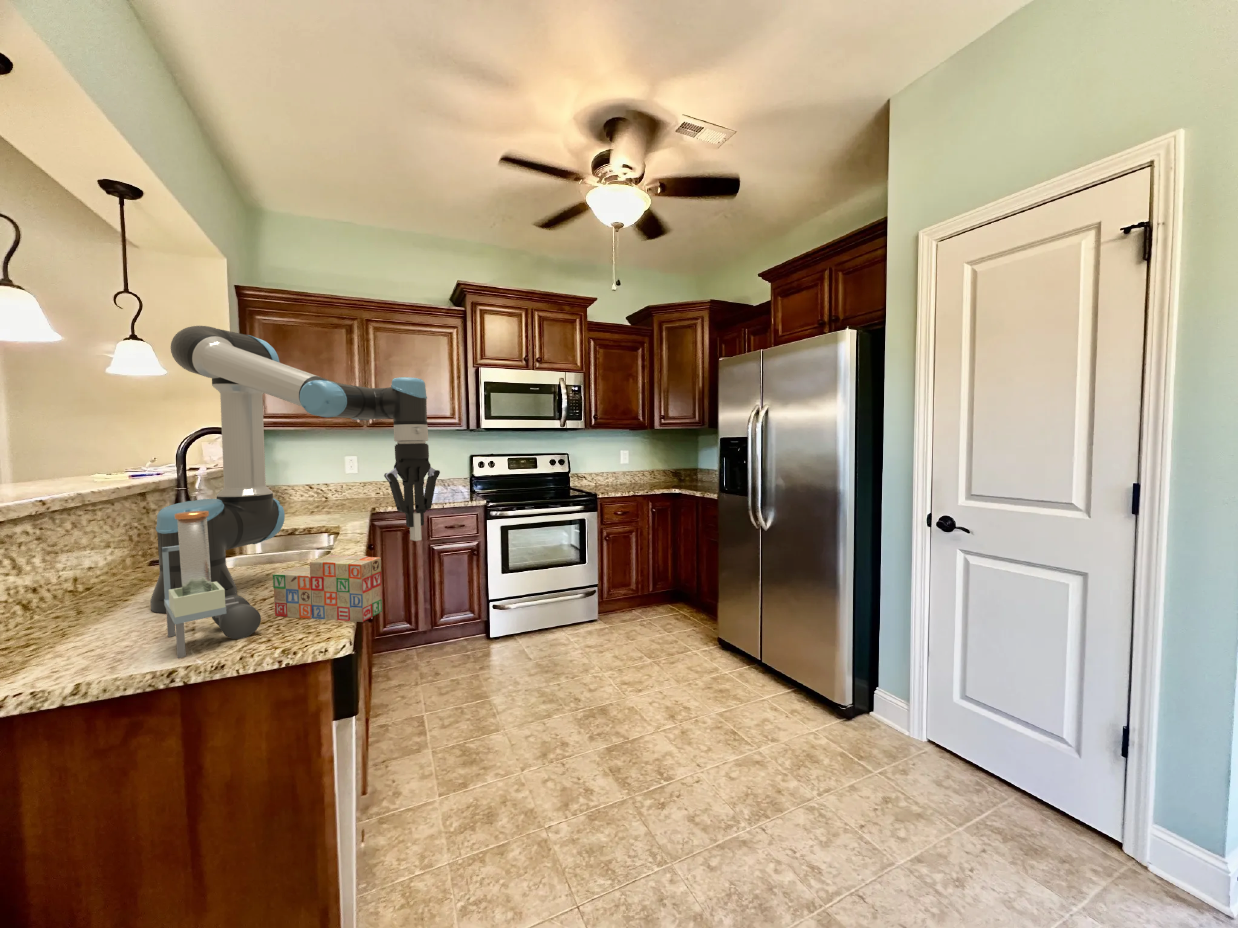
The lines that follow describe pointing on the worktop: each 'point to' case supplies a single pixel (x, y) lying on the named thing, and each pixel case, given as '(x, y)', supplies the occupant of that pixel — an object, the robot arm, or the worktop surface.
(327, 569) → the stack of blocks
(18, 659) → the worktop surface
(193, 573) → the orange capped bottle
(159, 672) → the worktop surface
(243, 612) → the cart
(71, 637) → the worktop surface
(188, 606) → the tray
